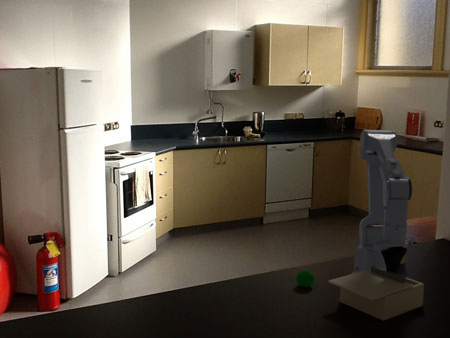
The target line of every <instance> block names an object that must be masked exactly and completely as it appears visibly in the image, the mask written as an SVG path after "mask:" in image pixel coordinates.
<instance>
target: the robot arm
mask: <svg viewBox="0 0 450 338" xmlns="http://www.w3.org/2000/svg"><path fill="white" fill-rule="evenodd" d="M397 146H398V135H397V131H395V130H394V129H391V130H387V129H385V130H384V129H363V130H362V131H361V133H360V137H359V152H360V153H359V154H360V158H361V159H362V160H364V161H366V162H365V163H366V168H367V195H368V196H367V199H368V202H367V203H368V215H367V216H365V217H364V218H362V219H361V220H360V222H359V224H358V225H359V229H358V242H359V245H358V246H357V247H356V249H355V251H354V262H353V263H354V264H353V271H351V274H353V273H357V272H360V271H364V270H367V269H370V270H371V266H377V267H380V268H382V269H385V270H388V271H391V272H394V273H397V274H398V271H399V267H400V265H401V264H400V263H401V260H402V258H403V257H404V255H405V256H406V254H407V252H408V248H407V247H409V245H413V244H414V237H415V236H412V235H408V234H407V232H406V224H407V225H408V222H407V220H408V207H409V201H410V200H412V196H413V183H412V179H411V178H410V177H408V176H405V172H404V170H403V166H402V165H401V162H400V161H399V160H398V159H396V157H395V150H396V149H397ZM402 246H403V247H402ZM404 247H405V248H404Z"/></svg>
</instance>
